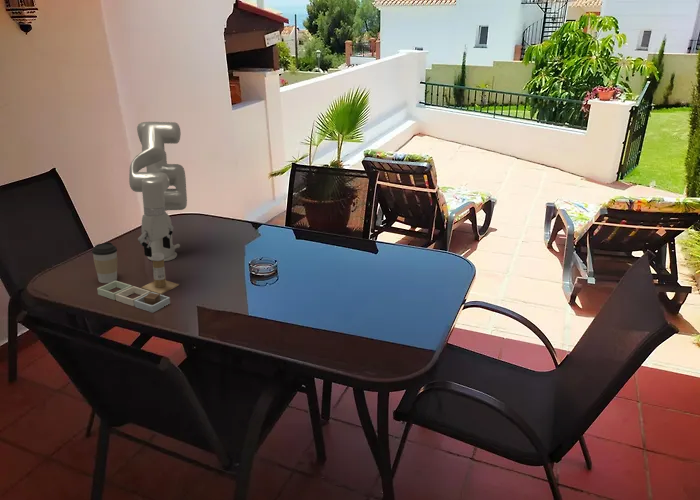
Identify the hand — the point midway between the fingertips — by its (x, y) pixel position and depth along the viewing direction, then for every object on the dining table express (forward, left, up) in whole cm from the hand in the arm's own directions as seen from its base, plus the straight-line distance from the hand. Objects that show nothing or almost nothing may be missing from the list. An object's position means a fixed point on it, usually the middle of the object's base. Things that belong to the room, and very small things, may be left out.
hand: (157, 251), depth 202 cm
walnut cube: (+14, +10, -15) cm, 22 cm away
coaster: (+1, +1, -15) cm, 15 cm away
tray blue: (+14, +10, -15) cm, 22 cm away
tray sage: (+14, -9, -15) cm, 22 cm away
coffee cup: (+7, -21, -15) cm, 27 cm away
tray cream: (+14, 0, -15) cm, 20 cm away
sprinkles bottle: (+1, +1, -14) cm, 14 cm away
